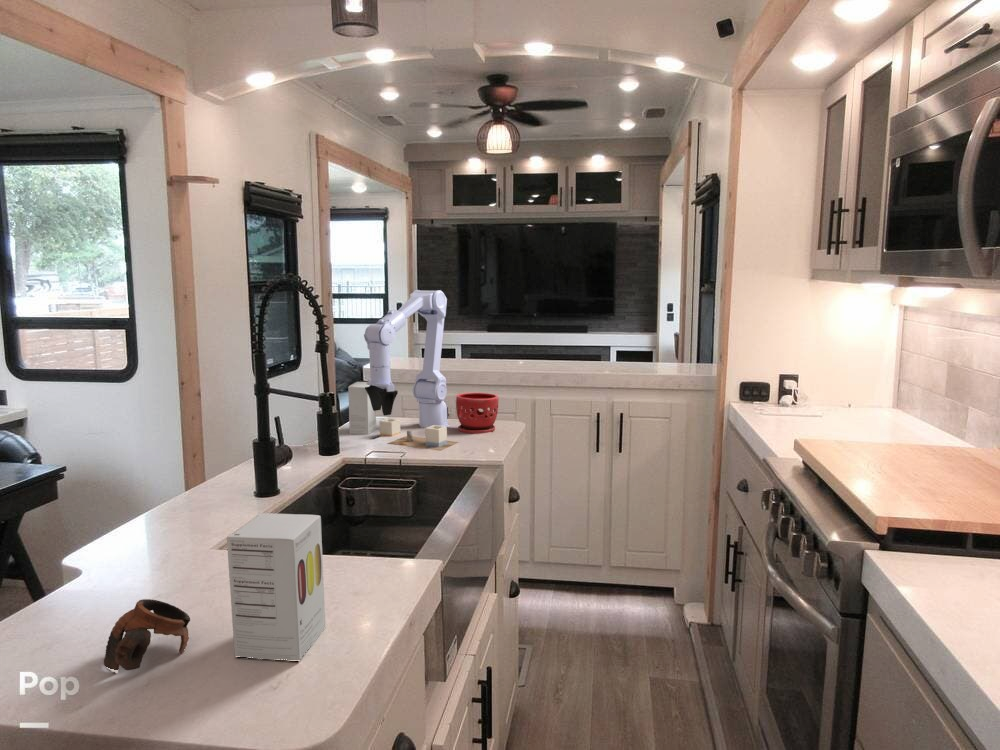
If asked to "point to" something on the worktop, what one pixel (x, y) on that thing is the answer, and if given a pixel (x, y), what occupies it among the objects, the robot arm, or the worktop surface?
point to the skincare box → (360, 410)
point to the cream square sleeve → (389, 427)
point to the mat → (375, 437)
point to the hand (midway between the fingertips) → (381, 412)
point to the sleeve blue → (436, 435)
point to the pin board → (418, 442)
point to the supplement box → (276, 585)
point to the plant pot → (476, 412)
